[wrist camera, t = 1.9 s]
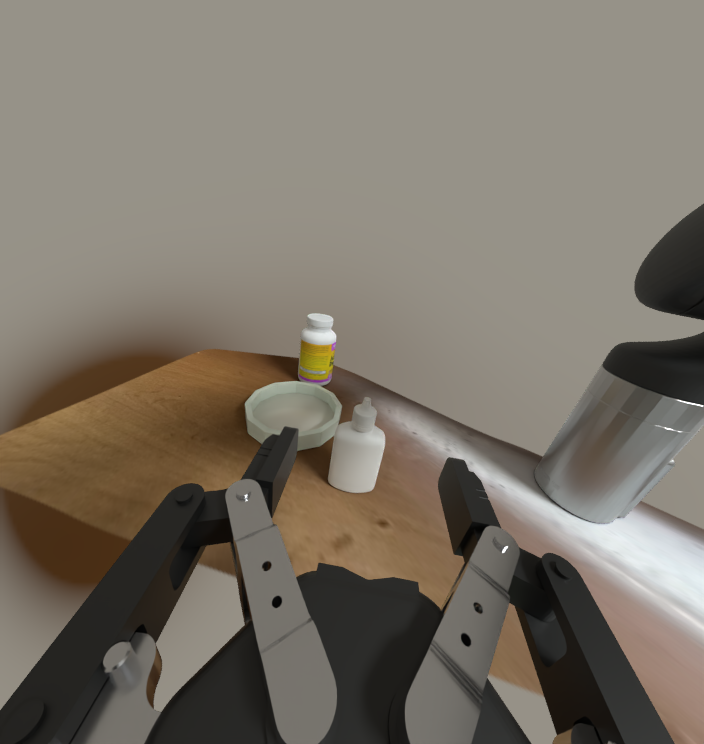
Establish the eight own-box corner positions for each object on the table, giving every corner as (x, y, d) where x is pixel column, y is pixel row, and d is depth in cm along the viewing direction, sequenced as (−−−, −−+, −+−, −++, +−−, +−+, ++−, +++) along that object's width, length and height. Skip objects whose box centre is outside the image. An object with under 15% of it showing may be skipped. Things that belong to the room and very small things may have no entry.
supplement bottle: (332, 389, 51) (340, 324, 45) (297, 387, 49) (300, 320, 44) (330, 372, 56) (337, 314, 51) (298, 370, 55) (302, 310, 49)
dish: (344, 401, 47) (345, 389, 46) (330, 458, 35) (333, 444, 34) (268, 388, 48) (268, 375, 46) (227, 439, 35) (226, 424, 34)
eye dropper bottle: (342, 459, 35) (356, 381, 29) (379, 482, 32) (401, 401, 27) (321, 480, 31) (332, 396, 26) (361, 507, 29) (382, 420, 24)
